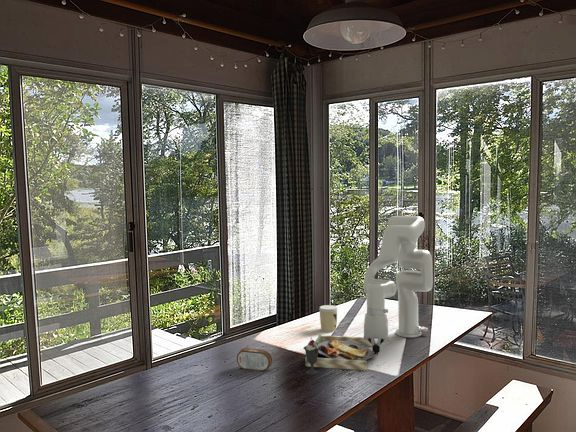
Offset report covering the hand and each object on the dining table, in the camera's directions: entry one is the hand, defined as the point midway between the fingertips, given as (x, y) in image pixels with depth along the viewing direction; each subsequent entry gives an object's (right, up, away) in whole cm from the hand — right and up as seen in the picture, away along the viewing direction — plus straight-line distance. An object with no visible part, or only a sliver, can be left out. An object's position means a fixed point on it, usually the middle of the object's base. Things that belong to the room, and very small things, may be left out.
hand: (376, 353), depth 209 cm
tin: (-52, -4, -10) cm, 53 cm away
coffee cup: (-17, 0, +42) cm, 45 cm away
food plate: (-14, -1, +3) cm, 14 cm away
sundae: (-28, -4, -15) cm, 32 cm away
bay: (-15, -2, +5) cm, 16 cm away
